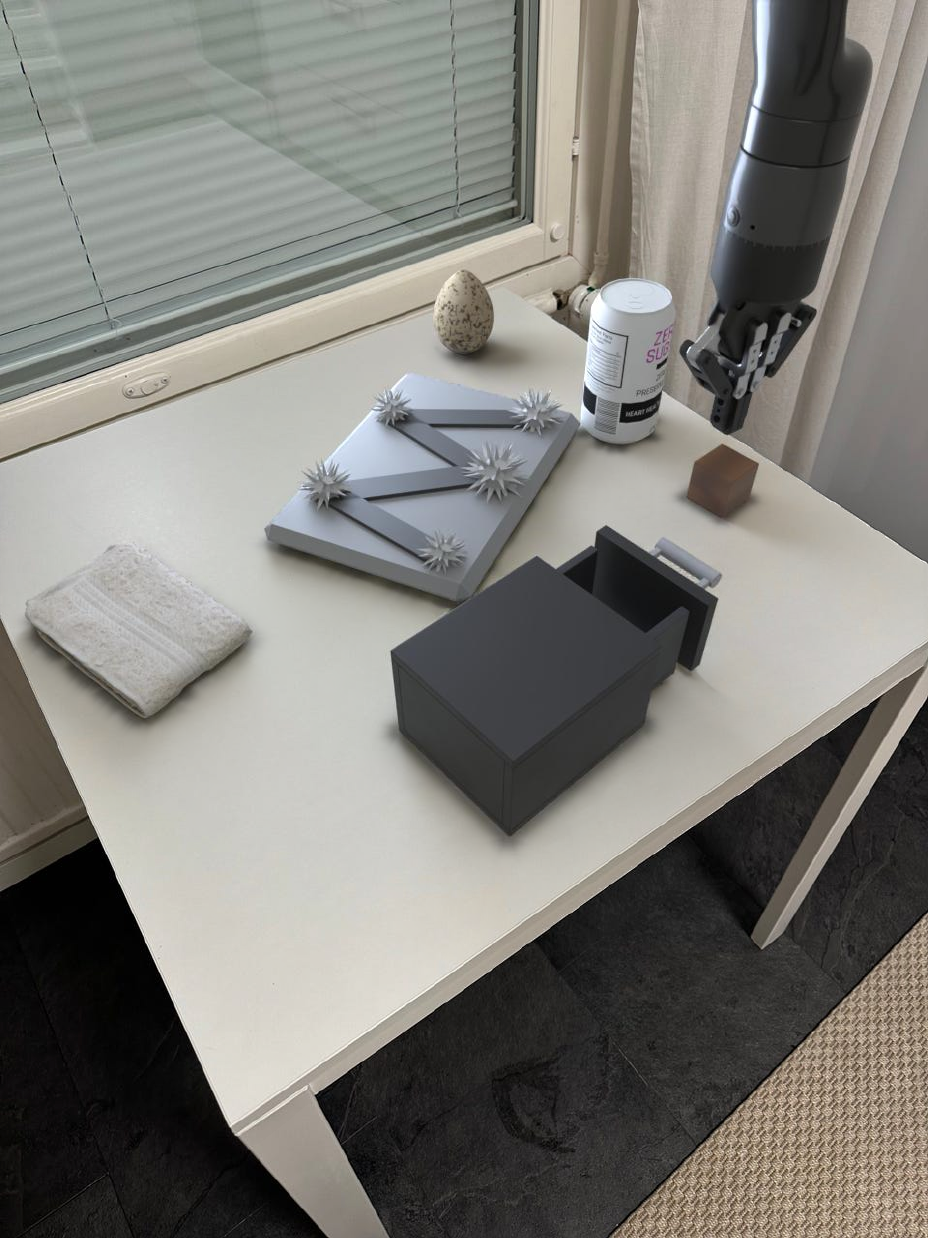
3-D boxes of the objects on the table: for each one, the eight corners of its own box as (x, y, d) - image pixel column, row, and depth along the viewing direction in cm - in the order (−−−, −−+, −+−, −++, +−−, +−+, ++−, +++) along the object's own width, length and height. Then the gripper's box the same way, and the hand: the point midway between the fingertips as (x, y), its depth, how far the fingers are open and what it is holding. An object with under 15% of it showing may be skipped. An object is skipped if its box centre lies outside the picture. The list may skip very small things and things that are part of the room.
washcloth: (129, 552, 84) (120, 528, 82) (261, 638, 77) (254, 614, 74) (19, 626, 78) (5, 602, 76) (150, 728, 70) (139, 704, 68)
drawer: (633, 565, 81) (645, 498, 75) (736, 634, 75) (757, 567, 69) (484, 670, 73) (484, 604, 67) (586, 757, 67) (597, 693, 61)
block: (749, 499, 88) (759, 463, 85) (722, 518, 87) (731, 482, 83) (713, 478, 91) (722, 442, 88) (686, 497, 89) (693, 461, 86)
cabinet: (531, 636, 76) (536, 554, 69) (644, 725, 70) (662, 645, 63) (398, 730, 70) (389, 650, 63) (509, 837, 63) (513, 762, 56)
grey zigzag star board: (406, 385, 103) (402, 329, 98) (582, 430, 97) (588, 372, 91) (260, 546, 85) (246, 487, 79) (466, 614, 78) (465, 555, 73)
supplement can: (581, 401, 100) (594, 273, 89) (655, 406, 100) (677, 277, 89) (577, 444, 95) (590, 313, 84) (656, 450, 94) (679, 318, 83)
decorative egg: (445, 331, 111) (442, 252, 104) (500, 339, 110) (501, 260, 102) (427, 361, 107) (423, 281, 99) (484, 369, 105) (484, 289, 98)
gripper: (751, 264, 57) (701, 480, 69) (884, 211, 62) (815, 422, 74) (668, 222, 61) (635, 433, 74) (800, 176, 66) (747, 381, 79)
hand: (726, 427), depth 74 cm, fingers closed
